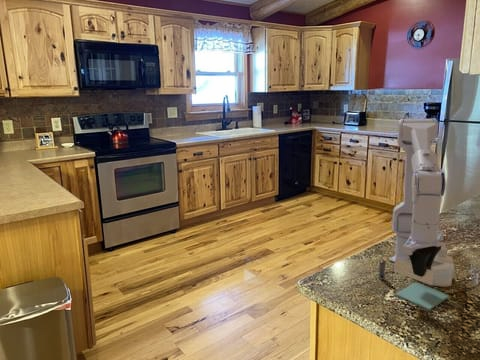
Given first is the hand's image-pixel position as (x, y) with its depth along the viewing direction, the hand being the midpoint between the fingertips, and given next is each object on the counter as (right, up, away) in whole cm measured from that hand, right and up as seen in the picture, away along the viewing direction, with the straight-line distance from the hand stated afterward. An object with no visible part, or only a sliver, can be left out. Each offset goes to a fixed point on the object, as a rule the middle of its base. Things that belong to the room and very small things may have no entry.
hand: (421, 273), depth 92 cm
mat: (+3, -7, +6) cm, 10 cm away
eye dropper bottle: (+10, -6, +11) cm, 16 cm away
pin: (-4, -5, +16) cm, 17 cm away
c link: (+2, -1, +4) cm, 5 cm away
